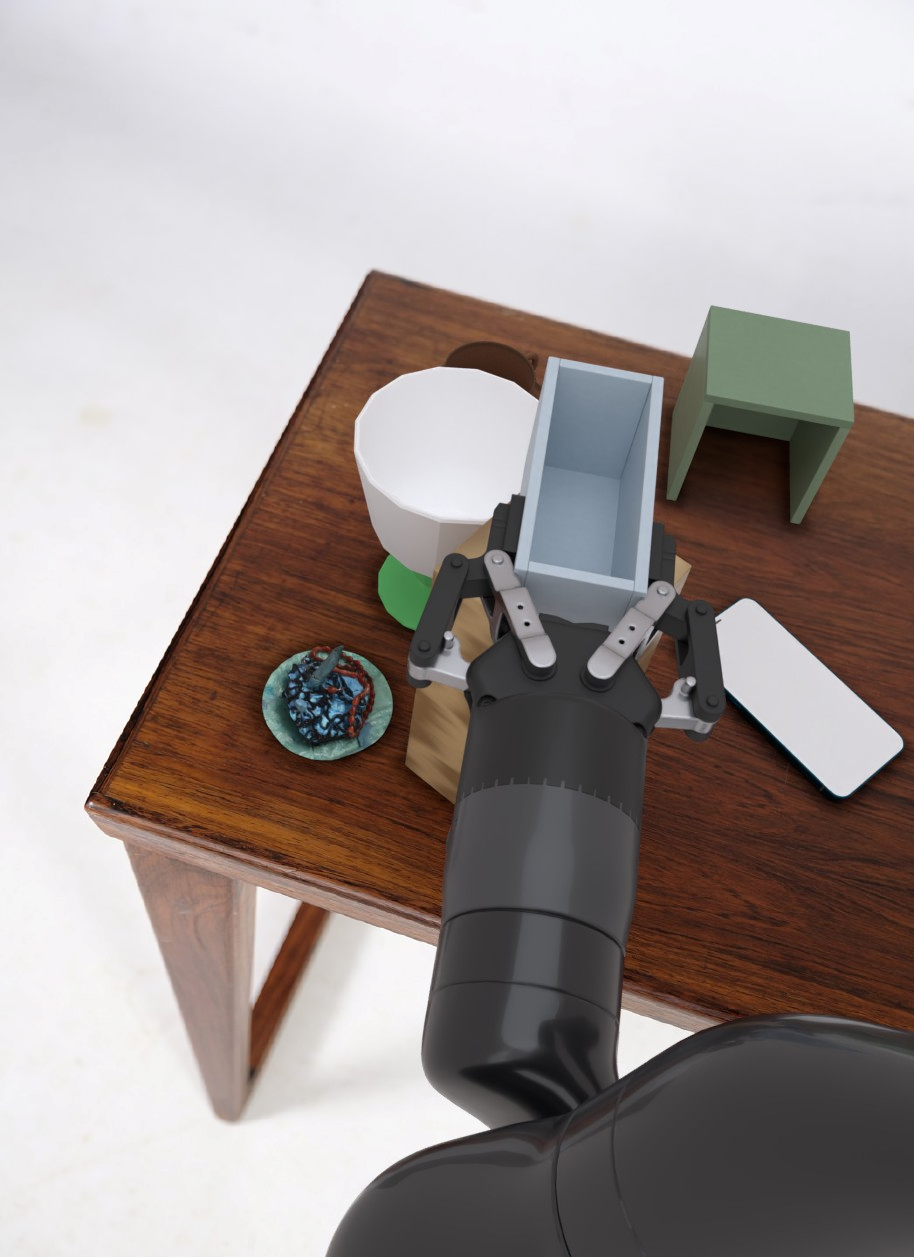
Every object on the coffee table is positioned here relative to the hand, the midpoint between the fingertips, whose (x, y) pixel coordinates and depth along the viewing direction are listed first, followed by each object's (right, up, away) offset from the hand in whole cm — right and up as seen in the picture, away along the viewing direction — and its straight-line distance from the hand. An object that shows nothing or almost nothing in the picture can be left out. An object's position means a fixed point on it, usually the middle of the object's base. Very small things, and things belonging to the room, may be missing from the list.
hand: (583, 519), depth 57 cm
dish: (-15, -11, +26) cm, 32 cm away
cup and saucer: (-4, +11, +42) cm, 44 cm away
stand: (-3, -14, +25) cm, 29 cm away
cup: (-8, -2, +33) cm, 33 cm away
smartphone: (+18, -10, +30) cm, 36 cm away
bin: (0, -2, +7) cm, 7 cm away
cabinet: (+17, +8, +43) cm, 47 cm away
